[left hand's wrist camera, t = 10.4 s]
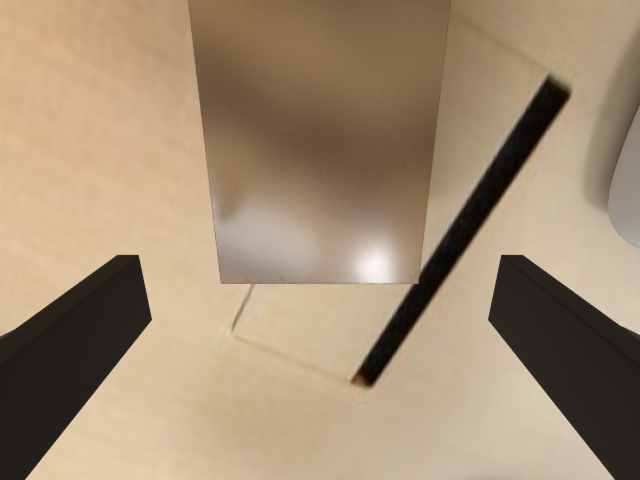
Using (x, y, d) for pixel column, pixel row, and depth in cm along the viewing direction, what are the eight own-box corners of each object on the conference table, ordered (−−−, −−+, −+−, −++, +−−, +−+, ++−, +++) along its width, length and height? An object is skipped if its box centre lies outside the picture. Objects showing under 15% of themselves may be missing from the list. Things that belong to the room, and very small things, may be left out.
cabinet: (237, -18, 23) (174, -115, 13) (401, -18, 23) (464, -115, 13) (254, 223, 30) (220, 284, 19) (384, 223, 30) (418, 284, 19)
